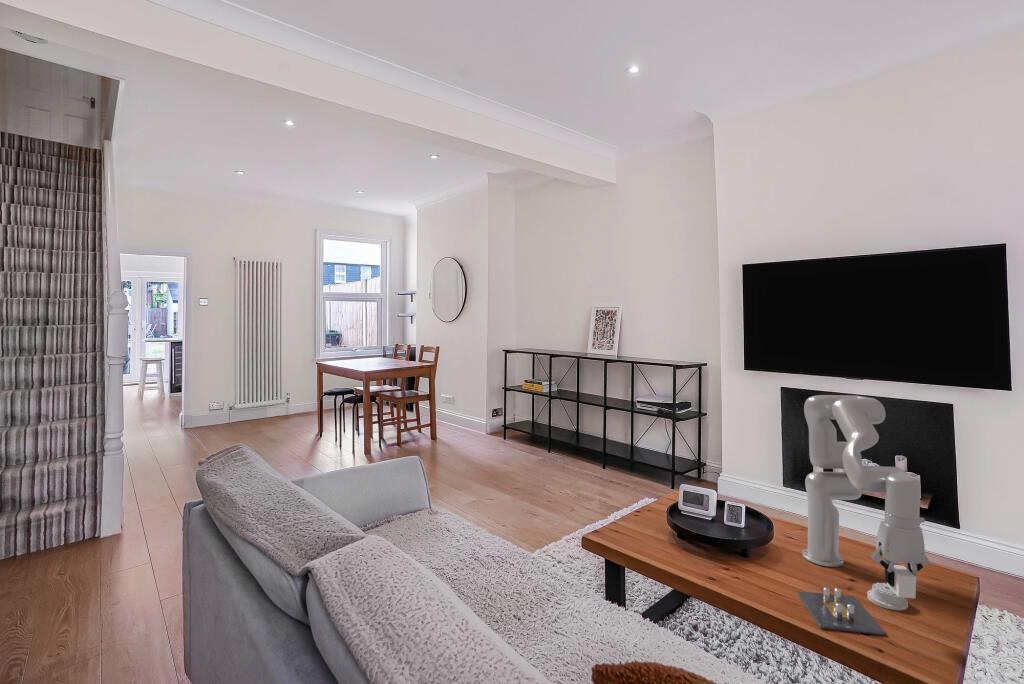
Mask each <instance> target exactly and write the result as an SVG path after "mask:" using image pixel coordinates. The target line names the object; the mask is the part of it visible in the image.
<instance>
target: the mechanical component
mask: <svg viewBox="0 0 1024 684" xmlns="http://www.w3.org/2000/svg"><path fill="white" fill-rule="evenodd" d="M866 593H867V595H866V597H867V599H868V600H869V601H870V602H871V603H873V604H875V605H877V606H879V607H881V608H883V609H884V608H885V609H888V610H892V611H905V610H908V609H909V602H908V600H907V598H904V597H898V596H897V595H896V594H895V593H894V592H893V591H892V590H891V589H890V588H889V587H888V585H887V582H886V583H885V582H876V583H872V588H871V589H869V590H868V591H867V592H866Z"/></svg>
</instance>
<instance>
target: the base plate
mask: <svg viewBox="0 0 1024 684" xmlns="http://www.w3.org/2000/svg"><path fill="white" fill-rule="evenodd" d="M797 596H798V597H799V599H800V601H802V603H803V605H804V606H805V608H806V609H807V611H808V612H809V613H810V615H811V617H812V618H813V620H814V622H815V623H816V624H817V625H818V628H819V629H823V630H831V631H843V632H851V633H861V634H868V635H870V634H871V635H879V636H886V631H885V630H884V628H882V627H881V626H880V624H879V623H878V622H877V621H876V619H875V618H874V617H873V616H872V615H871V614H870V613H869V612H868V610H867V609H866V608H865V607H864V606H863V604H862V603H861V602H860V601H859V600H858V599H857V598H856V597H855V596H854V595H846V594H842V590H841V588H838V587H835V588H834V594H833V593H831V588H830V587H828V586H827V587H826V586H823V592H813V591H812V592H811V591H800V590H798V591H797Z"/></svg>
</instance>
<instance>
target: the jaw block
mask: <svg viewBox="0 0 1024 684" xmlns="http://www.w3.org/2000/svg"><path fill="white" fill-rule="evenodd" d="M893 572H894V574H895V576H894V587H891V586H890V585H889V584H888V583H887V582H886V584H887V585H888V587H889V588H890V589H891V590H892V591H893V592H894V593H895V594H896V595H897V596H898V597H903V598H905V599H916V596H917V592H916V591H917V576H916V575H913V574H912V573H911V572H910V571H909V570H908V569H907V566H906V565H902V564H900V565H899V564H894V568H893Z"/></svg>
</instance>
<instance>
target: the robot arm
mask: <svg viewBox="0 0 1024 684" xmlns="http://www.w3.org/2000/svg"><path fill="white" fill-rule="evenodd" d="M803 406H804V407H803V412H804V417H805V420H806V423H807V426H808V448H809V449H808V450H809V452H808V453H809V460H810V463H811V465H812V466H813V467H815V468H818V469H830V470H831V469H832V470H834V469H836V470H842V471H812V472H810V473H808V474H807V475H806V477H805V479H804V484H805V485H804V486H805V490H806V496H807V548H805V549H803V550H802V556H803V558H804V559H805V560H807V561H808V562H811V563H813V564H816V565H819V566H824V567H830V568H836V567H842V566H843V565H844V562H845V559H844V558H843V557H842V556H841V555H840V554H839V553H840V552H839V551H840V549H839V548H840V547H839V544H840V543H839V541H840V539H839V538H840V513H839V510H838V508H837V507H836V506H835V505H834V503H833V501H835V500H837V501H842V500H843V501H855V500H858V499H860V498H861V496H862V495H863V493H867V494H872V493H873V494H885V495H884V497H885V498H884V499H885V500H884V520H881V521H880V524H879V526H878V531H877V536H876V542H875V543H876V544H875V550H874V551H873V553H872V554H871V555H870V558H871V559H872V560H873V561H875V562H876V563H877V564H880V566H882V567H883V568H884V580H885V582H886V584H887V583H888V584H889V585H890V586H891V587H894V576H895V574H894V572H893V568H894V565H896V563H901V564H906V568H907V569H908V570H909V571H910V572H911V573H912V574H913V575H915V576H916V575H918V573H919V571H920V570H922V569H924V567H927V566H929V565H930V564H931V561H930V560H929V558H928V556H927V555H926V554H925V553H926V551H925V549H926V547H925V540H924V538H925V537H924V532H923V530H922V527H921V523H925V521H926V520H925V518H924V517H923V516H922V517H920V512H921V511H920V509H921V482H920V481H919V479H917V478H916V477H915V476H911V475H909V474H908V473H907V472H906V471H905V470H904V469H902V468H900V467H897V466H882V465H879V466H878V465H863V459H862V454H861V452H862V451H865V450H867V449H870V448H872V447H873V446H875V445H876V444H877V443H878V442H879V438H880V436H879V433H878V432H877V429H876V428H875V426H874V425H879V424H881V423H883V422H884V421H885V420H886V416H887V415H886V409H885V407H884V405H883V404H882V402H880V401H879V400H878V399H876V398H873V397H867V396H861V395H852V394H851V395H850V394H847V395H845V394H844V395H843V394H842V395H838V394H837V395H835V394H819V395H813V396H810V397H808V398H807V399H806V400H805V402H804V405H803ZM831 420H836V423H837V424H838V426H839V429H840V431H841V432H842V434H843V437H844V438H845V440H846V441H838V437H837V436H838V435H837V428H836V426H835V425H834V424H833V422H832V421H831ZM881 557H882V558H883V559H882V558H881Z"/></svg>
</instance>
